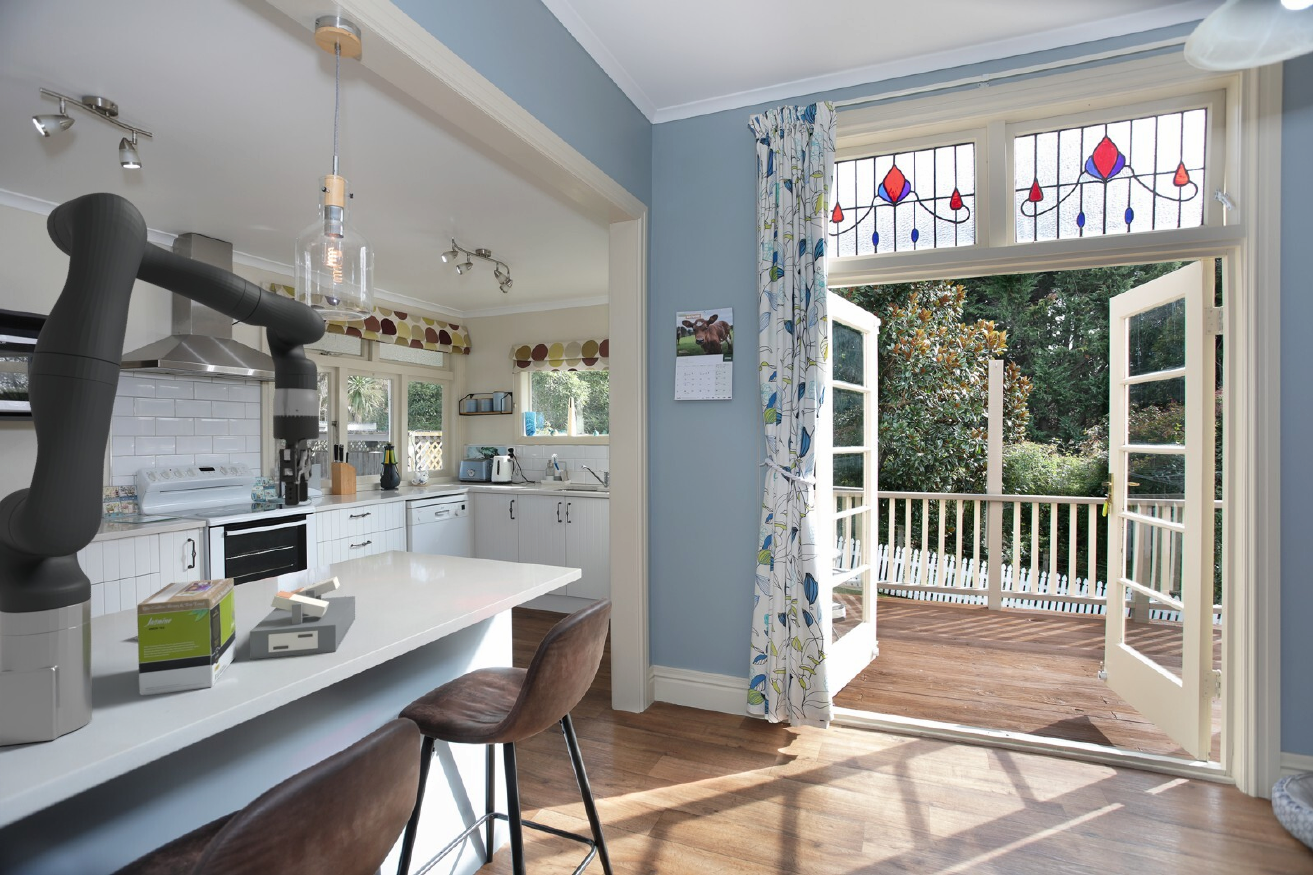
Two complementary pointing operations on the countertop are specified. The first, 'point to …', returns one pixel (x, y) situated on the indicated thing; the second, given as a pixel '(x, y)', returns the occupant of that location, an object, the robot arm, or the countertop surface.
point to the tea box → (186, 636)
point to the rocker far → (319, 587)
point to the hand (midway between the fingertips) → (296, 503)
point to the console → (302, 629)
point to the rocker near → (308, 604)
